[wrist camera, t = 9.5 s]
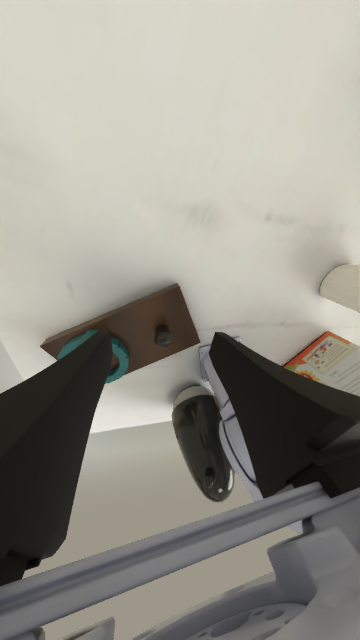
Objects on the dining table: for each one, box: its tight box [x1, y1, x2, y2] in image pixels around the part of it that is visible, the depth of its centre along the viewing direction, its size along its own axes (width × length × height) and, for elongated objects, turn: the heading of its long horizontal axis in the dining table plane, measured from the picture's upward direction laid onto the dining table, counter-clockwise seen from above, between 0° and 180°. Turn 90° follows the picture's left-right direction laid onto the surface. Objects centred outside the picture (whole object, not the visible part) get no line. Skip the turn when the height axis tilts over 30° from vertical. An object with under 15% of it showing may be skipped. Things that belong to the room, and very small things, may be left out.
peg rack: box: [40, 284, 200, 375], centre depth 18 cm, size 19×10×7 cm, turn 111°
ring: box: [57, 329, 129, 384], centre depth 17 cm, size 9×8×6 cm
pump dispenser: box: [172, 386, 235, 503], centre depth 25 cm, size 10×10×15 cm
